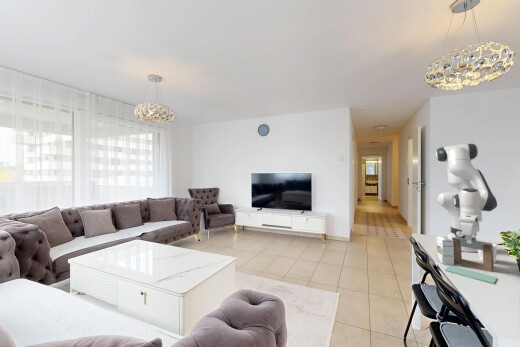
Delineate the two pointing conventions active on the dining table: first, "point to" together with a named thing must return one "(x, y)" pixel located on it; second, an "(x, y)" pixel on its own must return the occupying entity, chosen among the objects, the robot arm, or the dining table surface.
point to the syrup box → (445, 250)
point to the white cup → (480, 253)
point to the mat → (471, 274)
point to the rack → (458, 259)
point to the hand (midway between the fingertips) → (471, 241)
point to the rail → (474, 243)
